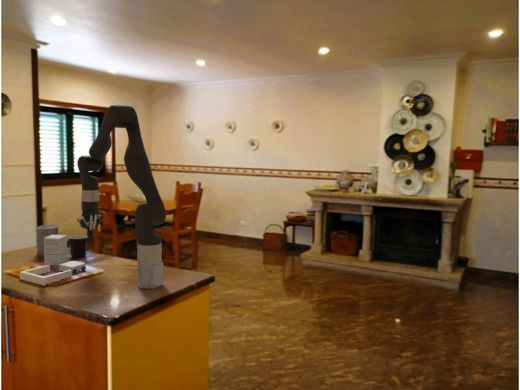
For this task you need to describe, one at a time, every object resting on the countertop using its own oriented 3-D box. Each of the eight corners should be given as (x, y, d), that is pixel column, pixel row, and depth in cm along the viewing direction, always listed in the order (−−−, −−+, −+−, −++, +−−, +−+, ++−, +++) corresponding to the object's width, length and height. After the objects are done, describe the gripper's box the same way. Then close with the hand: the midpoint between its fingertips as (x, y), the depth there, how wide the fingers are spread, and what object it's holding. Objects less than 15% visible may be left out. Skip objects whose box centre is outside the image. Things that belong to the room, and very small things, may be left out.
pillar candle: (48, 250, 213) (47, 221, 212) (63, 252, 210) (62, 223, 209) (32, 254, 204) (31, 225, 202) (48, 256, 201) (47, 226, 199)
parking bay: (71, 277, 172) (71, 270, 171) (43, 285, 160) (43, 278, 160) (48, 271, 178) (48, 264, 178) (20, 279, 167) (19, 272, 167)
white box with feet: (88, 269, 183) (88, 263, 182) (73, 274, 175) (72, 267, 175) (74, 266, 187) (74, 260, 186) (58, 270, 180) (58, 264, 179)
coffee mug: (83, 259, 198) (83, 239, 197) (65, 258, 198) (65, 238, 197) (93, 253, 210) (93, 234, 209) (76, 252, 210) (76, 233, 209)
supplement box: (52, 260, 195) (52, 234, 194) (68, 261, 195) (67, 234, 193) (43, 264, 188) (43, 237, 186) (59, 265, 187) (59, 238, 186)
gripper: (84, 202, 179) (84, 241, 181) (107, 199, 190) (107, 236, 192) (72, 200, 182) (72, 238, 184) (96, 197, 194) (96, 233, 196)
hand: (90, 237), depth 188 cm, fingers closed
